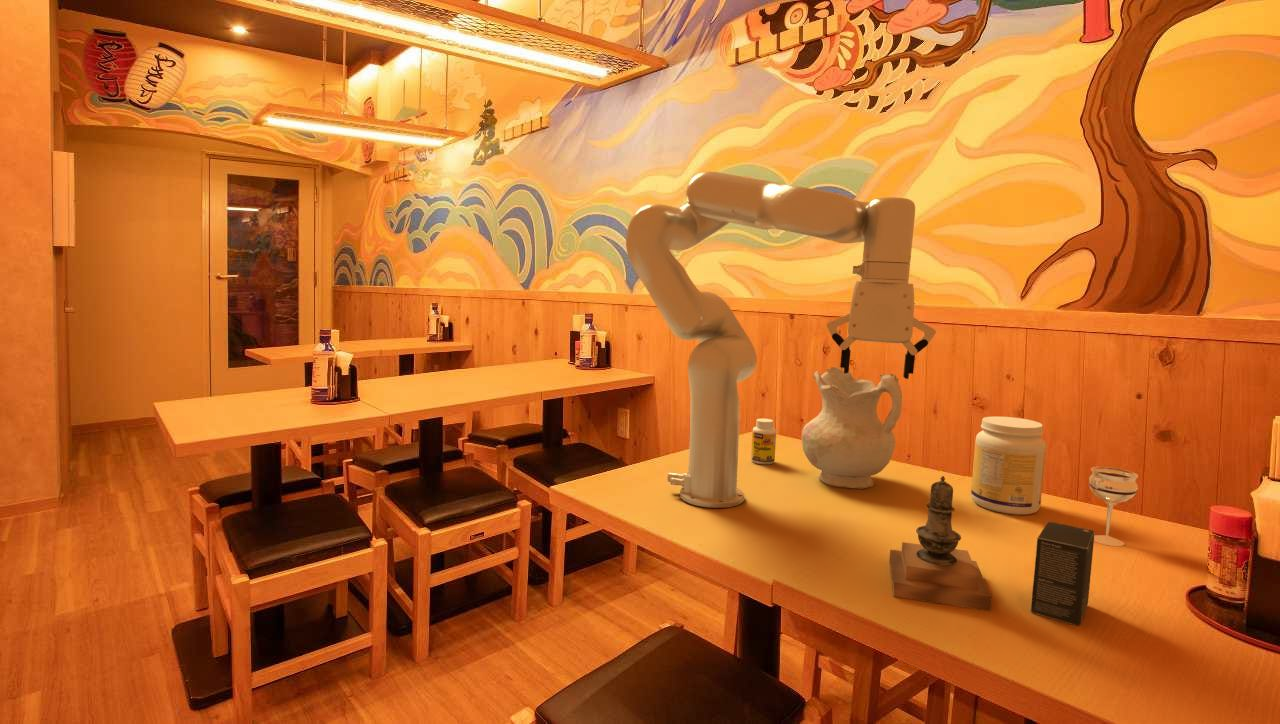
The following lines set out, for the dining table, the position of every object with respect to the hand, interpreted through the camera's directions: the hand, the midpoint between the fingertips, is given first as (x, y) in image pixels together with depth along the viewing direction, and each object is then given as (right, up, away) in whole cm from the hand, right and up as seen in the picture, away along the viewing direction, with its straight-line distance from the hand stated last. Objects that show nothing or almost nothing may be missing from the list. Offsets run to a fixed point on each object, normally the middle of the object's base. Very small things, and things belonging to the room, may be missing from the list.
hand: (875, 375), depth 114 cm
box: (+16, -31, -25) cm, 43 cm away
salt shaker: (+2, -26, -18) cm, 32 cm away
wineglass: (+40, -29, 0) cm, 49 cm away
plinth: (+2, -30, -18) cm, 35 cm away
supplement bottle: (-11, -22, +45) cm, 52 cm away
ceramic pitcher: (+5, -24, +31) cm, 40 cm away
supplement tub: (+31, -26, +17) cm, 45 cm away
